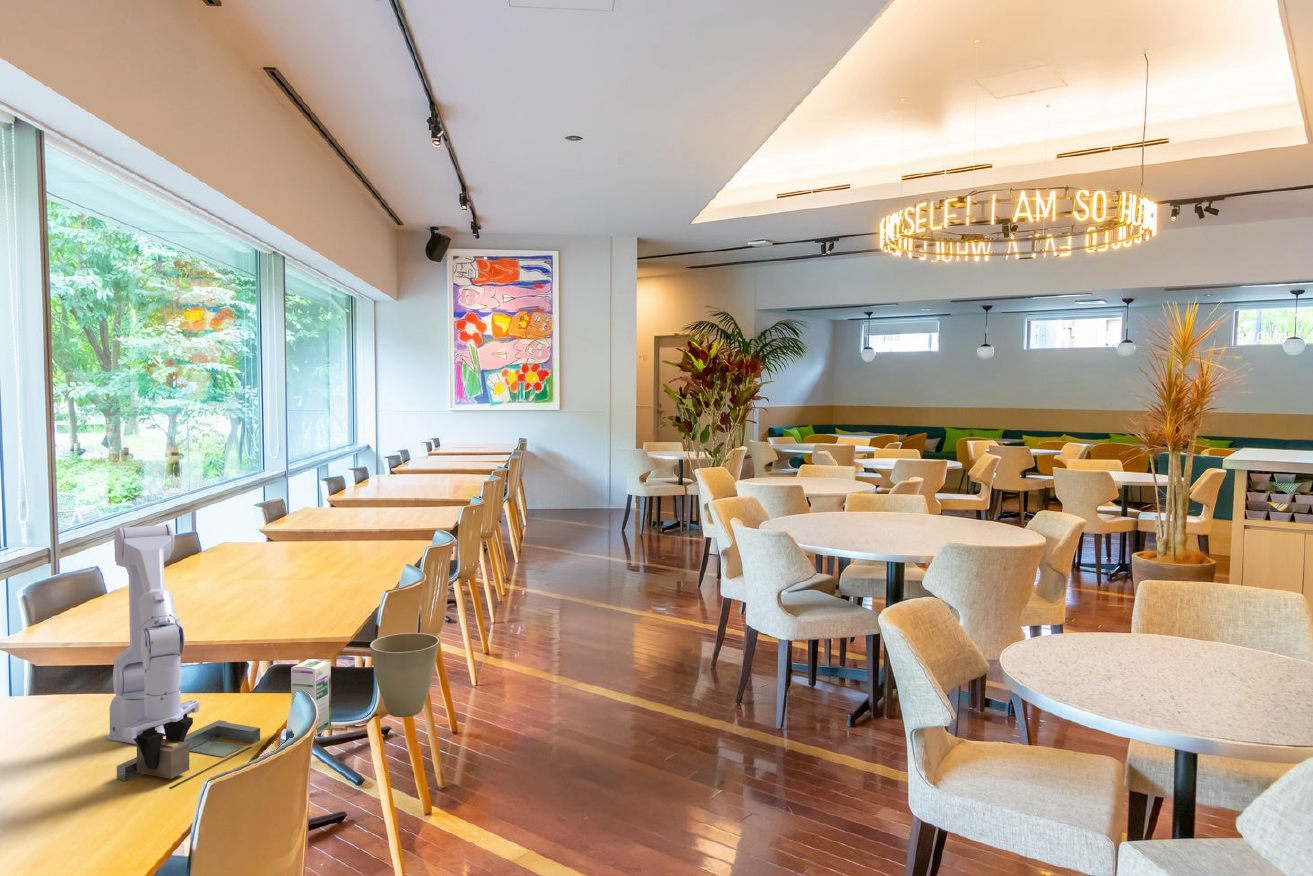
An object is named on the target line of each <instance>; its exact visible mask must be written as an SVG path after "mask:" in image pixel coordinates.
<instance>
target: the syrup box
mask: <svg viewBox="0 0 1313 876" xmlns="http://www.w3.org/2000/svg"><path fill="white" fill-rule="evenodd" d="M331 664H332V663H331V661H330V660H328V659H327V660H325V659H316V658H315V659H311V658H310V659H309V658H307V659H306V660H304V661H302V662H301V663H298V664H297V665H294V666H291V668H290V677H291V678H290V681H291V682H290V684H291V685H290V690H291V691H290V692H291V693H290V694H291V697H290V698H291V699H290V700H291V701H290V702H291V703H290V704H291V706H292V705H293V703H294V699H295V697H296V695H295V694H296V692H299V691H300V690H304V691H305V692H307V693H309V694H310V695H311V697H312V698H313V699H314V700H315V701H316V703H317V705H318V707H319V720H318V727H317V734H316V735H315V738H316V737H317V736H318V735H320V734H322V733H324V732H325V731H326V730H328V729H330V728H331V727H332V683H331V682H332V680H331V679H332V677H331V676H332V674H331V673H332V671H331V669H332V668H331V666H332V665H331Z"/></svg>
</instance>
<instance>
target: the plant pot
mask: <svg viewBox="0 0 1313 876" xmlns="http://www.w3.org/2000/svg"><path fill="white" fill-rule="evenodd" d="M439 646H440V639H439V637H437V636H436V635H433V634H429V633H423V632H404V633H403V632H402V633H396V634H389V635H386V636H382V637H378V638H376V639H374V640H373V641H372V642H371V643H370V644H369V647H370V656H371V660H372V666H373V671H374V674H375V679H376V682H377V686H378V690H379V693H380V695H381V698H382V701H383V703H384V704H383V705H384V707H385V710H386V711H387V714H388V715H390V716H391V717H393V718H408V717H413V716H416V715H418V714H420V713H422V711H423V709H424V706H425V704H426V701H427V698H428V695H429V692H430V689H431V686H432V685H431V684H432V681H433V678H434V677H433V676H434V673H435V670H436V669H435V668H436V666H437V665H436V664H437V659H438V653H439V652H438V651H439Z"/></svg>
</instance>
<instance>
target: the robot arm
mask: <svg viewBox="0 0 1313 876" xmlns="http://www.w3.org/2000/svg"><path fill="white" fill-rule="evenodd" d="M113 540H114V541H113V543H114V561H115V565H116V566H118V567H121V568H125V569H126V570H125V571H126V572H127V575H128V593H129V594H128V605H129V612H128V613H129V614H128V617H129V646H128V647H127V648H126V649H124V650H123V651H122V652H120V653H119V654H118V655H117V656H116V657H115V659H114V660H113V661H114V662H113V673H112V684H113V691H114V694H115V696H114V697H113V698H112V699H111V701H110V705H109V734H108V735H106V736H105V739H106V740H111V741H117V742H122V743H127V744H132V745H136V746H137V745H138V747H139V748H140V750H141V753H142V755H143V758H144V761H145V764H146V768H149V769H157V768H158V765H159V752H160V746H161V742H162V739H164V736H165V739H168V740H173V741H179V742H184V739H185V737H186V735H187V734H188V732H189V730H190V729H191V727H192V725H193V724H194V718H193V717H189V716H188V715H190V714H191V713H192V714H193V713H194V714H195V713H198V712H199V711H200V701H199V700H193V699H190V700H187V701H186V702H185V701H184V702H181V697H182V696H181V690H182V689H181V655H183V653H184V650H185V644H186V643H185V640H186V639H185V631H184V628H183V624H182V622H181V619H180V618H178V615H177V609H176V603H175V599H174V598H175V597H174V595H173V594H172V593H171V592H170V591H168V590H166V581H165V563H164V562H167V561H168V560H169V559H170V558H171V555H172V554H173V552H174V549H175V532H174V527H173V526H172V525H171V524H170V523H166V524H158V525H145V526H132V527H130V526H129V527H122V526H119V527H117V529H116V530H114V539H113Z"/></svg>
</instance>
